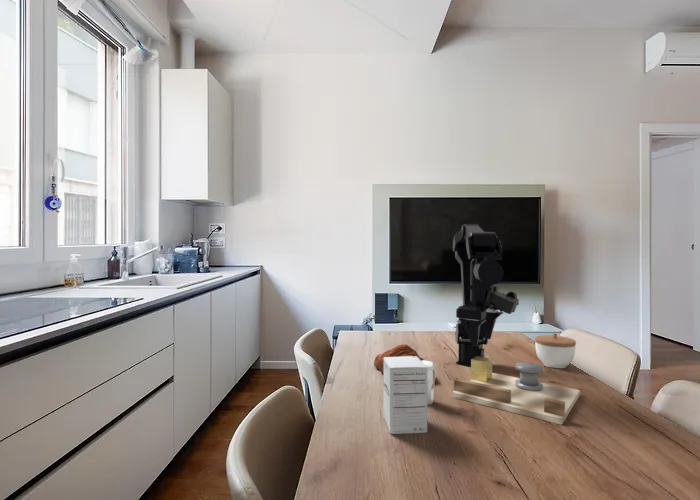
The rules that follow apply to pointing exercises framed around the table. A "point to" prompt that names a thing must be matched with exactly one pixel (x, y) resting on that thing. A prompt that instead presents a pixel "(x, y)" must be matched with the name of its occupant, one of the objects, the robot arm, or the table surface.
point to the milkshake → (430, 380)
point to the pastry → (395, 355)
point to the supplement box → (405, 395)
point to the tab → (481, 369)
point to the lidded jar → (555, 350)
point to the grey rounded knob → (529, 376)
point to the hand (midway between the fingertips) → (481, 342)
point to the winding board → (518, 397)
